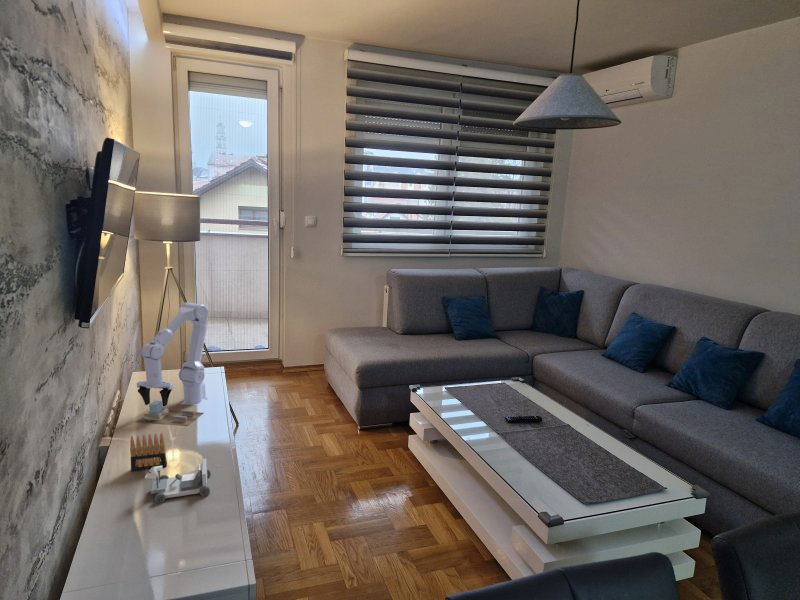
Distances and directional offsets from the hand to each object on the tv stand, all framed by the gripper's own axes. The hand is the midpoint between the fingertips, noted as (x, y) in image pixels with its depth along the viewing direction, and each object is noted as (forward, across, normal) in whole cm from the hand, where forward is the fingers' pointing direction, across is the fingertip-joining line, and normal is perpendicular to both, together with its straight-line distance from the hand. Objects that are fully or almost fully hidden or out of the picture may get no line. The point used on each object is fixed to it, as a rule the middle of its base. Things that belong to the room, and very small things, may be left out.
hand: (156, 404), depth 209 cm
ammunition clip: (+6, +21, -38) cm, 43 cm away
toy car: (+6, +38, -48) cm, 61 cm away
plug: (+5, 0, 0) cm, 5 cm away
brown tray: (+6, +6, 0) cm, 8 cm away
